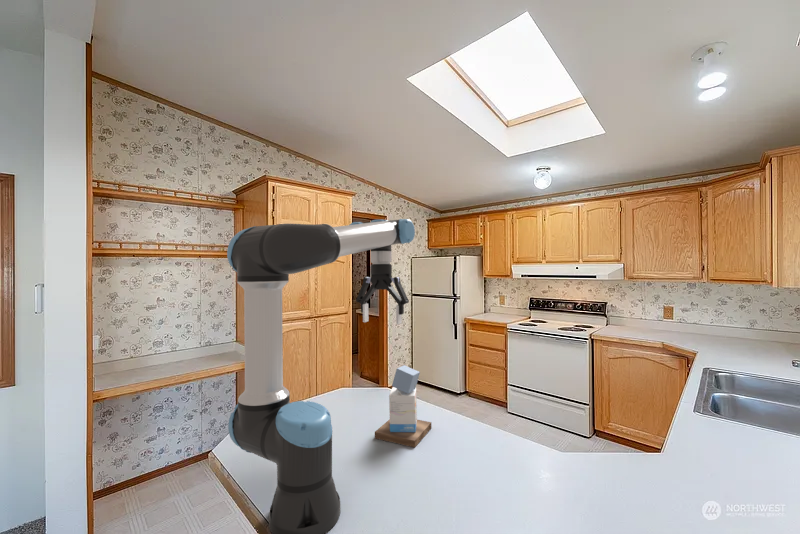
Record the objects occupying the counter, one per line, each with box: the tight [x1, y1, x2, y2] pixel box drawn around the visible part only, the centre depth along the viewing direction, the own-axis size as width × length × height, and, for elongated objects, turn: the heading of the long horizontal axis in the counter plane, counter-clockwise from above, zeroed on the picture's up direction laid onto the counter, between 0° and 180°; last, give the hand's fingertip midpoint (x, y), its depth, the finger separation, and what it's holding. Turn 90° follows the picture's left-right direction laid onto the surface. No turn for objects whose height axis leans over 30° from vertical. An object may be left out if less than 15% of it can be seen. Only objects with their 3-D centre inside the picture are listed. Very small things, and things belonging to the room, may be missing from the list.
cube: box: [391, 364, 421, 393], centre depth 115 cm, size 6×6×6 cm
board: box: [374, 418, 432, 448], centre depth 115 cm, size 14×14×2 cm
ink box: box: [388, 386, 418, 432], centre depth 116 cm, size 9×8×13 cm
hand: (382, 322), depth 126 cm, fingers open, 13 cm apart
